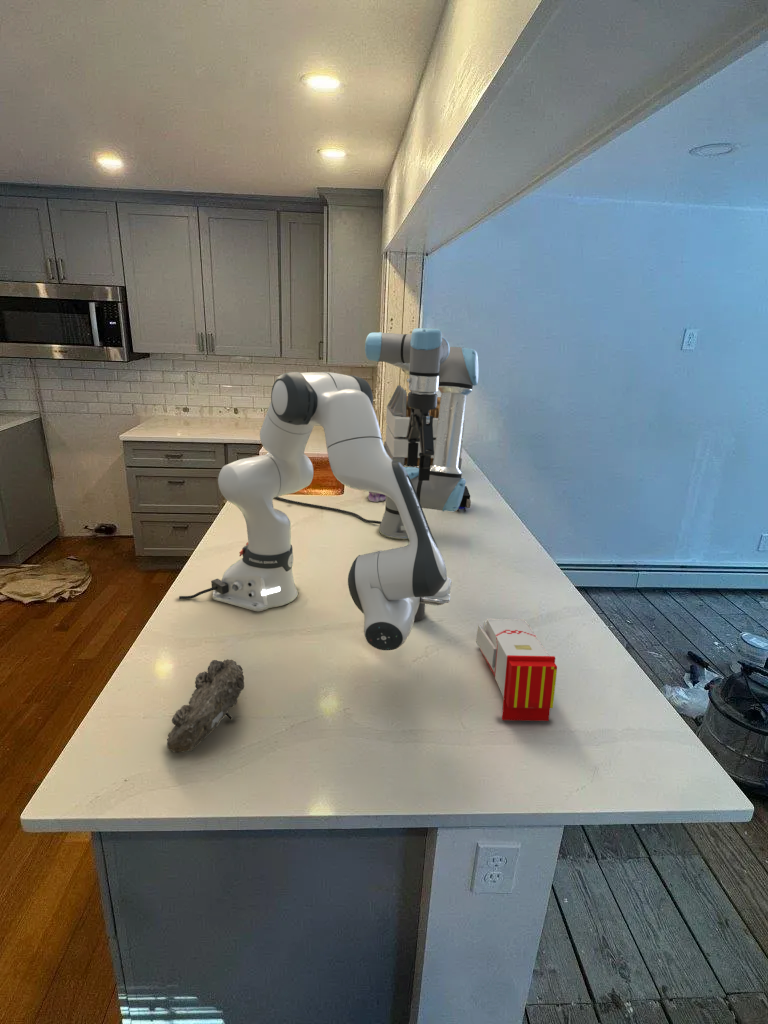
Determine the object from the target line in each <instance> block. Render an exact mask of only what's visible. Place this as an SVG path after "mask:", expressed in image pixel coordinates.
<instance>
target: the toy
mask: <svg viewBox="0 0 768 1024" xmlns="http://www.w3.org/2000/svg"><path fill="white" fill-rule="evenodd" d="M476 629H477V631H476V638H475V642H476V645H477V646H478V648H479V650H480V652H481V654H482V656H483V658H484V660H485V661H486V664H487V666H488V668H489V669H490V671H491V672H492V675H493V676H494V679H495V681H496V685H497V686H498V688H499V690H500V692H501V695H502V697H503V701H502V712H501V720H502V721H521V722H523V721H526V722H528V721H529V722H550V712H551V709H554V702H555V692H556V681H557V673H558V665H557V664H556V656H555V655H550V654H549V652H548V651H547V650H546V648H545V647H544V645H543V644H542V642H541V641H540V639H539V638H538V637H537V635H536V634H535V632H534V631H533V629H532V627H531V625H530V624H528V623H527V621H526V619H521V618H518V619H515V618H513V619H512V618H486V620H484V621H483V626H482V625H481V624H477V628H476Z"/></svg>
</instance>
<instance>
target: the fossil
mask: <svg viewBox="0 0 768 1024" xmlns="http://www.w3.org/2000/svg"><path fill="white" fill-rule="evenodd" d="M243 670H244V669H243V667H242V665H240V664H237V662H236V661H235V660H234V659H232V658H231V659H227V658H226V659H224V660H223V661H222V660H217V659H212V660H211V661H210V663H209V665H208V666H207V671H201V672H199V673H198V674H197V675H196V676H195V680H194V684H195V685H194V687H195V689H194V690H193V693H192V694H191V697H190V698H189V700H188V704H184V705H182V706H181V707H180V709H177V710H176V711H175V713H174V715H173V716H172V718H171V723H172V724H173V727H172V730H171V731H170V732H168V734H167V738H166V741H167V742H166V745H167V749H168V750H169V751H173V752H174V753H176V754H178V753H182V752H188V751H189V752H192V751H193V750H195V748H196V747H197V746H199V744H200V743H201V742H203V741H204V740H205V739H206V738H207V737H208V736H209V735H210V734H211V733H212V732H214V730H215V729H217V727H218V726H219V724H220V722H221V721H222V720H223V719H224V718H225V716H226V717H227V719H229V720H233V717H232V715H230V714H229V710H230V709H231V708H234V706H235V704H236V703H237V702H238V699H239V697H240V695H241V693H242V691H243V690H245V689H244V688H245V675H244V671H243Z"/></svg>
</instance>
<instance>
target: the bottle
mask: <svg viewBox="0 0 768 1024" xmlns="http://www.w3.org/2000/svg"><path fill="white" fill-rule="evenodd" d="M425 611H426V604H424V603H419V607H418V610H417V613H416V615H415V619H414V622H418V621H419V622H420V621H422V620H423V619H424V618H425Z"/></svg>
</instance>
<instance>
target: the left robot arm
mask: <svg viewBox="0 0 768 1024" xmlns="http://www.w3.org/2000/svg"><path fill="white" fill-rule="evenodd" d="M270 394H271V395H270V403H269V405H268V409H267V411H266V414H265V417H264V420H263V422H262V425H261V428H260V430H259V440H260V443H261V445H262V447H263V448H264V450H265V451H266V452H267V453H265V454H262V455H257V456H251V457H245V458H244V457H243V458H240V459H238V460H234V461H232V462H230V463H228V464H225V465H224V466H222V468H221V469H220V471H219V474H218V477H217V478H218V479H217V484H218V489H219V491H220V494H221V495H222V497H223V498H224V499H225V500H226V501H227V502H229V503H230V504H233V505H234V506H235V507H237V508H238V509H239V511H240V512H241V514H242V516H243V518H244V520H245V524H246V525H245V526H246V533H247V542H246V544H245V545H244V546H243V547H242V548H241V550H240V551H239V553H238V554H239V556H238V557H241V556H242V557H241V558H240V559H239V560H237V561H235V562H234V563H233V564H231V565H230V566H229V567H228V568H227V569H226V570H225V571H224V573H223V574H222V577H221V579H220V578H215V579H212V580H211V581H210V582H211V583H210V584H211V587H209V588H207V589H203V590H201V591H198V592H196V593H194V594H192V595H179V596H178V599H179V600H190V599H195V598H196V597H199V596H201V595H203V594H206V593H209V592H212V599H213V600H214V601H217V602H221V603H225V604H228V605H232V606H236V607H240V608H243V609H246V610H251V611H254V612H263V611H266V610H268V609H271V608H278V607H281V606H285V605H287V604H290V603H291V602H293V601H294V600H296V598H297V597H298V594H299V593H298V589H297V587H296V583H295V579H294V573H293V565H294V552H293V545H292V531H291V530H292V527H291V525H292V524H291V520H290V518H289V516H288V515H287V514H286V513H285V512H283V511H282V510H280V509H277V508H275V507H274V502H273V501H274V499H275V498H274V497H283V496H287V495H291V494H295V493H297V492H299V491H301V490H303V489H305V488H307V487H309V486H310V485H311V484H312V481H313V479H314V475H315V473H314V472H315V471H314V465H313V463H312V461H311V459H310V457H308V455H307V454H305V450H306V447H307V444H308V441H309V439H310V437H311V434H312V432H313V429H314V427H322V428H323V432H324V438H325V439H324V440H325V446H326V452H327V456H328V462H329V467H330V470H331V472H332V474H333V476H334V478H335V479H336V480H337V481H338V482H339V483H341V484H342V485H344V486H346V487H347V488H350V489H353V490H357V491H361V492H362V491H363V492H368V493H369V492H374V493H379V494H383V495H386V496H388V497H390V498H391V499H392V500H393V501H394V503H395V504H396V506H397V509H398V511H399V514H400V517H401V519H402V522H403V525H404V527H405V530H406V533H407V535H408V538H409V540H408V541H409V542H408V544H407V545H405V546H399V547H394V548H390V549H384V550H377V551H372V552H367V553H364V554H363V553H362V554H358V555H357V556H356V558H354V559H353V562H352V563H351V566H350V569H349V572H348V576H347V585H348V587H347V588H348V590H349V594H350V597H351V599H352V601H353V603H354V605H355V607H356V608H357V609H358V610H359V611H360V613H362V614H363V619H364V620H363V621H364V622H363V635H364V638H365V641H366V642H367V643H368V645H370V646H371V647H373V648H374V649H377V650H379V651H394V650H397V649H398V648H400V647H401V646H403V645H404V644H405V643H406V641H407V640H408V637H409V636H410V633H411V632H412V628H413V625H414V623H415V621H414V619H415V615H416V613H417V610H418V607H419V603H424V604H425V605H431V606H443V605H445V604H449V602H450V601H451V591H452V583H453V582H452V579H451V578H450V577H448V575H447V571H448V570H447V565H446V562H445V559H444V557H443V555H442V553H441V551H440V549H439V547H438V545H437V543H436V541H435V537H434V536H433V533H432V531H431V528H430V525H429V523H428V520H427V517H426V514H425V512H424V510H423V509H424V508H422V507H421V504H420V502H419V499H418V496H417V494H416V491H415V489H414V487H413V484H412V482H411V479H410V477H409V475H408V473H407V471H406V470H405V468H404V467H405V466H404V467H403V465H402V464H401V463H400V462H396V461H393V460H392V459H391V458H390V457H389V455H388V454H387V452H386V450H385V448H384V442H383V436H382V432H381V428H380V424H379V421H378V417H377V415H376V410H375V409H374V406H373V405H374V404H373V403H374V395H373V391H372V387H371V386H370V383H369V382H368V381H367V380H366V379H364V378H362V377H359V376H358V375H353V374H347V375H346V374H342V373H337V372H331V371H322V372H321V371H320V372H319V371H315V372H314V371H312V372H311V371H308V372H300V371H290V372H285V373H282V374H279V376H278V377H277V378H276V379H275V381H274V383H273V385H272V387H271V393H270Z"/></svg>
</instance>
